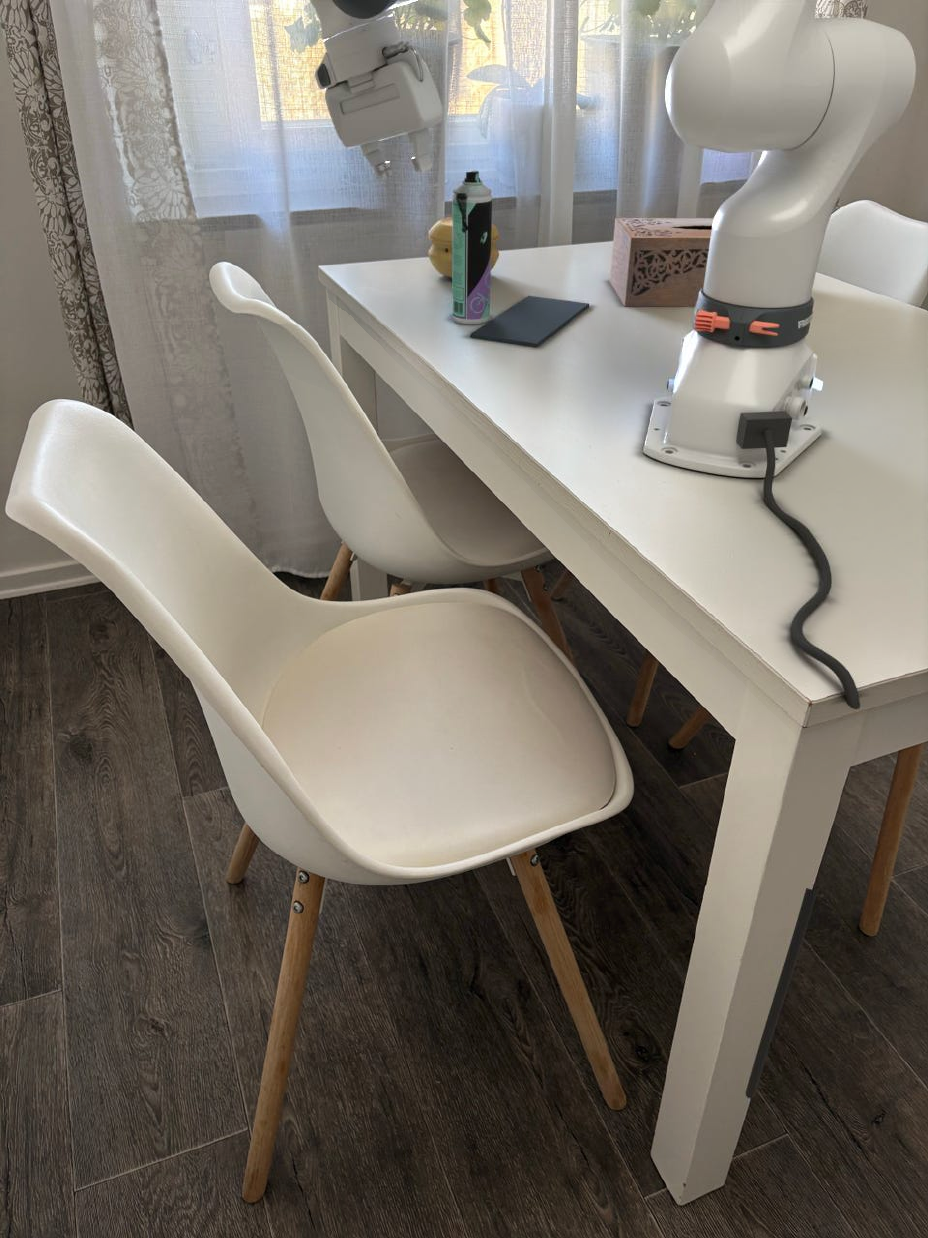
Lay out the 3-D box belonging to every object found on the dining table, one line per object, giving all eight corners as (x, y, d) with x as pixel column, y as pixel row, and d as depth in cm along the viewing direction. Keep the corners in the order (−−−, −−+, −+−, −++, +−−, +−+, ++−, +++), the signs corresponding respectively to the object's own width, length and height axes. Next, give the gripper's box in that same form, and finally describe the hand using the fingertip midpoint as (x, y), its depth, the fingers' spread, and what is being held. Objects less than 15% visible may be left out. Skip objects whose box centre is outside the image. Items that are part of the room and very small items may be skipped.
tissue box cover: (763, 281, 162) (774, 217, 157) (790, 305, 150) (803, 237, 145) (609, 281, 161) (615, 217, 156) (624, 306, 149) (631, 237, 144)
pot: (431, 266, 169) (430, 205, 163) (498, 268, 168) (500, 206, 163) (426, 284, 159) (425, 219, 154) (498, 285, 159) (499, 220, 153)
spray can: (486, 325, 140) (488, 174, 129) (448, 322, 141) (448, 173, 130) (492, 314, 145) (495, 168, 134) (456, 312, 146) (457, 166, 135)
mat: (536, 347, 132) (536, 343, 132) (469, 337, 136) (469, 333, 135) (589, 306, 149) (589, 303, 149) (528, 298, 152) (528, 295, 152)
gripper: (433, 28, 111) (470, 156, 117) (348, 63, 127) (384, 174, 133) (389, 44, 108) (429, 174, 115) (308, 77, 124) (347, 189, 131)
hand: (404, 174), depth 124 cm, fingers open, 8 cm apart
